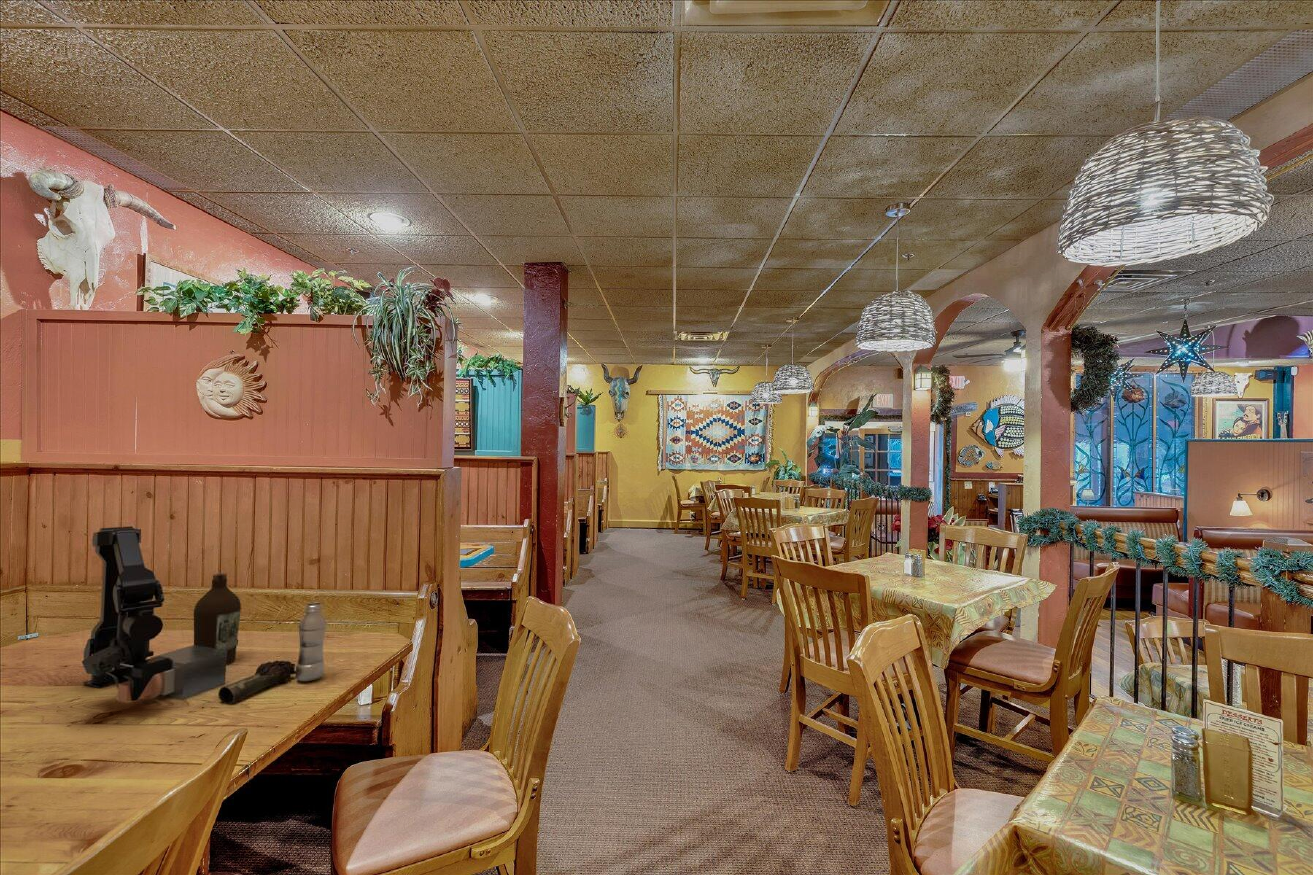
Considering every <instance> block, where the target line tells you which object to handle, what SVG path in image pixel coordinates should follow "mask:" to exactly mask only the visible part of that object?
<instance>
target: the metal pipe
mask: <svg viewBox="0 0 1313 875" xmlns="http://www.w3.org/2000/svg"><path fill="white" fill-rule="evenodd" d="M295 671H296V664H295V663H292V662H291V661H289V660H287V661H286V660H274V661H267V662H266V663H265V662H264V663H261V664H260V665H259V666H258V667H257V669H256V671H255V673H254V674H253V675H251V676H248V677H246V678H243V679H240V680H237V681H234V682H231V683H230V684H225V685H224V686H221V688H220V689H219V690H218V695H217V696H218V699H219V701H220V702H221V703H222V704H224V705H228V706H229V705H232V704H234V703H236V702H238V701H240V700H242V699H244V698H247V697H248V696H250V695H252V694H255V693H256V692H258V691H261V690H263V689H265V688H266V687H270V686H276V685H277V684H283V683H287V682H288V679H290V678H291V675H296V673H295Z"/></svg>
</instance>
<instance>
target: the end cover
mask: <svg viewBox="0 0 1313 875" xmlns="http://www.w3.org/2000/svg"><path fill="white" fill-rule="evenodd" d="M175 673H176V668H172V670H168V671H165V672H162V673H159V674H156V675H154V676H153V677H152V679H151V680H150V681H149V683H148V684H147V686H146V688H145V689H144V691H143V692H142V694H141V696H140V697H139V699H141V698H143V699H146V700H151V699H153V698H157V697H158V696H159V695H162V696H165V695H166V694H169V693H172V692H174V689H175ZM116 699H117V700H116V701H117V702H122V703H126V704H128V703H131V702H133V701H132V700H131V693H130V681H126V682H123V683H120V684H118V688H117V698H116Z"/></svg>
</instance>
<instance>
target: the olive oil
mask: <svg viewBox="0 0 1313 875" xmlns="http://www.w3.org/2000/svg"><path fill="white" fill-rule="evenodd" d="M227 577H228V575H227V573H225V572H224V573H215V574H213V575H212V579H211V588H210V589H209V590H208V591H207V592H206V593H205V594H204V595H203V596H202V597H201V598H200V599H199V600H197V602H196V604H195V606H194V609H193V645H198V646H203V647H209V648H214V649H220V650H225V651H227V661H226V666H227V665H230V664H232V663H234V662H235V661H236V654H237V647H238V644H239V639H238V635H239V626H240V620H241V619H240V617H241V610H242V604H241V600H240V597H238V595H237V594H235V593H234V592H233V591H232V590H230V589H229V587H228V586H227V584H228V583H227V582H228V578H227Z"/></svg>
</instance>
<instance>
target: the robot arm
mask: <svg viewBox="0 0 1313 875" xmlns="http://www.w3.org/2000/svg"><path fill="white" fill-rule="evenodd" d="M91 541H92V547H93V548H95V552H94V553H95V554H96V555H97V556H98V557H99V559H100V560H101V561H102V562H103V563H102V579H101V582H102V583H101V584H102V586H101V601H100V603H101V604H100V619H99V621H98V622H97V623H96V624H95V626H94V627H93V628H92V629H91V631H90V638H88V639H87V641H86V644H85V647H84V650H83V660H81V664H82V665H83V668H84V670H85V673H86V674H87V675H91V676H90V677H91V678H90V679H89V680H85V681H84V682H83V685H85V686H89V687H93V688H99V689H100V688H103V687H107V686H110V685H113V684H115V685H116V688H117V689H118V684H120V683H123V682H126V681H130V693H131V700H132V701H131V702H136V701H138V700H139V699H140V698H139V697H140V696H141V694H142V692H143V691H144V689H145V688H146V686H147V684H148V683H149V681H150V680H151V679H152V677H153V676H154V675H156V674H159V673H162V672H165V671H168V670H172V668H173V660H172V659H170V658H167V657H162V656H157V655H156V656H157V657H154V651H153V650H150V641H151V640H153V639H155V638H156V637H157V636H159V634H160V633H161V632H162V630H163V627H164V622H163V621H162V619H161V618H160V617H159V616H157V615H156V614H155V612H154V611H155V609H157V608H162V607H163V603H164V602H165V595H164V592H163V585H162V584H161V583H160V581H159V579H157V578H156V575H155V573H154V571H153V570H151V569H149V568H146V566H145V563H144V558H143V554H142V551H141V546H140V544H142V529H139V528H134V526H130V525H129V526H116V527H114V526H113V527H111V526H110V527H101V528H99V531H96V532H93V534H92V540H91ZM151 657H153V658H151Z"/></svg>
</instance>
